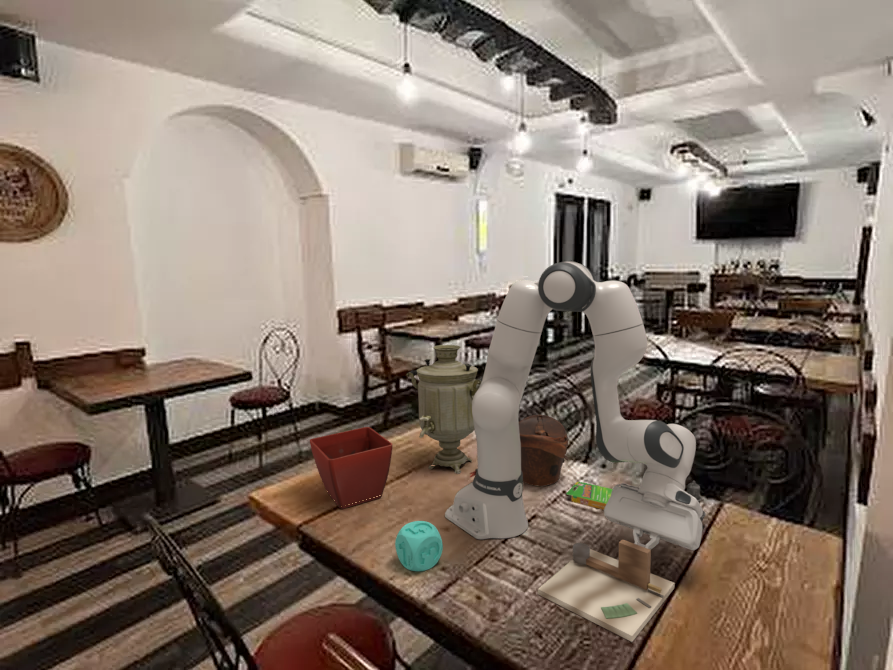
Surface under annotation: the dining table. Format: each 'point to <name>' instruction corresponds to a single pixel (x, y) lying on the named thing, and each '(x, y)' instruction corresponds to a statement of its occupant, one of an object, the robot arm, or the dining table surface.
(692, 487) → the chess piece
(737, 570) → the dining table surface
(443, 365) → the samovar
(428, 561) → the decorative dice
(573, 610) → the dial board
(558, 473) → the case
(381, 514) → the dining table surface
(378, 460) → the plant pot
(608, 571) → the tuning lever
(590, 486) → the game box
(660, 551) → the dining table surface
